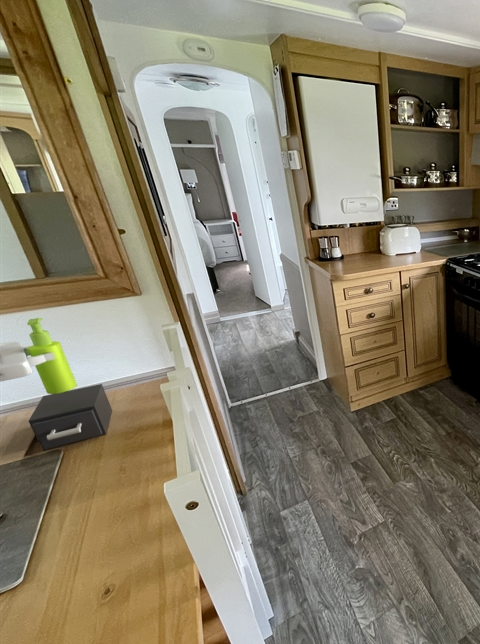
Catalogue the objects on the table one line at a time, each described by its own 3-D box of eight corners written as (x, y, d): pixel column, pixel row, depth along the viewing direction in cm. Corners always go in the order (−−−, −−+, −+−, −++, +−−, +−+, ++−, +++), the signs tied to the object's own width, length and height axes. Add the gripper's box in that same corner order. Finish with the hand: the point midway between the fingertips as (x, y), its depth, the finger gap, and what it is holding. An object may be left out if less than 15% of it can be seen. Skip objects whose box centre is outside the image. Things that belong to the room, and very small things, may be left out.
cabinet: (106, 434, 107) (94, 405, 103) (43, 451, 100) (28, 420, 97) (112, 410, 118) (101, 383, 114) (56, 424, 111) (42, 396, 107)
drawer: (99, 442, 102) (89, 418, 100) (39, 458, 96) (27, 433, 93) (108, 412, 116) (99, 390, 113) (55, 424, 109) (45, 401, 106)
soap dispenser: (78, 380, 109) (52, 314, 102) (76, 389, 104) (47, 320, 97) (49, 386, 105) (19, 319, 98) (45, 396, 100) (13, 325, 93)
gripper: (-36, 370, 84) (53, 351, 94) (-36, 345, 95) (43, 331, 106) (-23, 394, 86) (62, 373, 96) (-25, 368, 98) (51, 351, 108)
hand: (52, 351), depth 101 cm, fingers closed on soap dispenser, 6 cm apart
